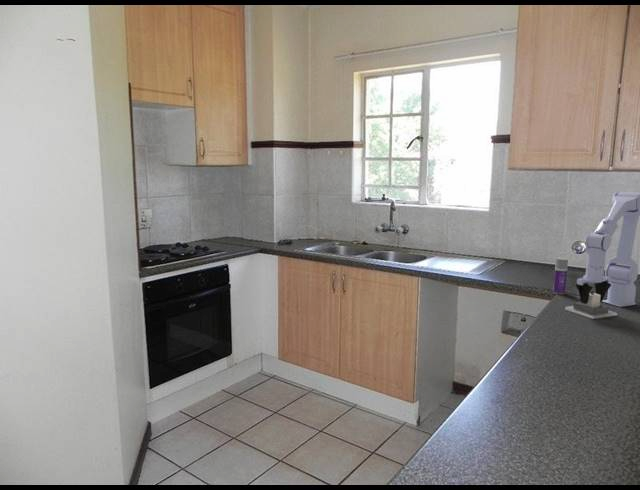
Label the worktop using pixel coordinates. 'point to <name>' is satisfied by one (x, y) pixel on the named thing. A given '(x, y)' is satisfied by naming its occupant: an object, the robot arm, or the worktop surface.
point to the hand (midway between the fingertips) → (591, 302)
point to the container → (560, 276)
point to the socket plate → (591, 310)
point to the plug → (593, 300)
